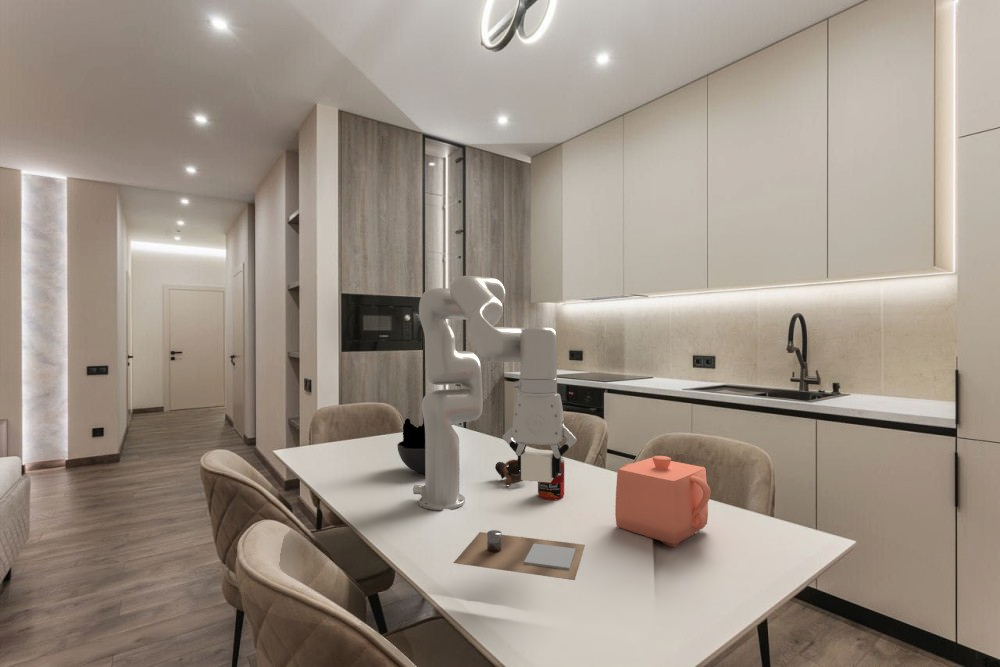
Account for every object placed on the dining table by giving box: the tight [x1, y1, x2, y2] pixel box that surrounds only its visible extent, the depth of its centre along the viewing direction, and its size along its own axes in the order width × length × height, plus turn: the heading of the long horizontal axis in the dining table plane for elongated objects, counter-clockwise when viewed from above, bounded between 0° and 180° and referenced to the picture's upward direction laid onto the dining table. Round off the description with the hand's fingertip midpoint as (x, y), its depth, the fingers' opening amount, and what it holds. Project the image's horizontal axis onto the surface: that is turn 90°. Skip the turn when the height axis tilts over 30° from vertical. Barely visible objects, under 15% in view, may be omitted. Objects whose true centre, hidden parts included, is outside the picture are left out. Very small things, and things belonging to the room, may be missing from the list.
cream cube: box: [521, 448, 554, 483], centre depth 99 cm, size 6×6×5 cm
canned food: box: [537, 456, 565, 501], centre depth 142 cm, size 8×8×11 cm
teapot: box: [614, 455, 712, 547], centre depth 118 cm, size 25×23×18 cm
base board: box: [453, 531, 586, 581], centre depth 100 cm, size 24×16×2 cm, turn 73°
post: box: [486, 529, 503, 553], centre depth 102 cm, size 3×3×4 cm
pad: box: [524, 544, 576, 570], centre depth 99 cm, size 9×9×1 cm
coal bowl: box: [396, 417, 425, 474], centre depth 168 cm, size 20×20×19 cm
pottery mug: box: [494, 459, 524, 486], centre depth 156 cm, size 12×10×8 cm
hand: (539, 474), depth 99 cm, fingers closed on cream cube, 6 cm apart
